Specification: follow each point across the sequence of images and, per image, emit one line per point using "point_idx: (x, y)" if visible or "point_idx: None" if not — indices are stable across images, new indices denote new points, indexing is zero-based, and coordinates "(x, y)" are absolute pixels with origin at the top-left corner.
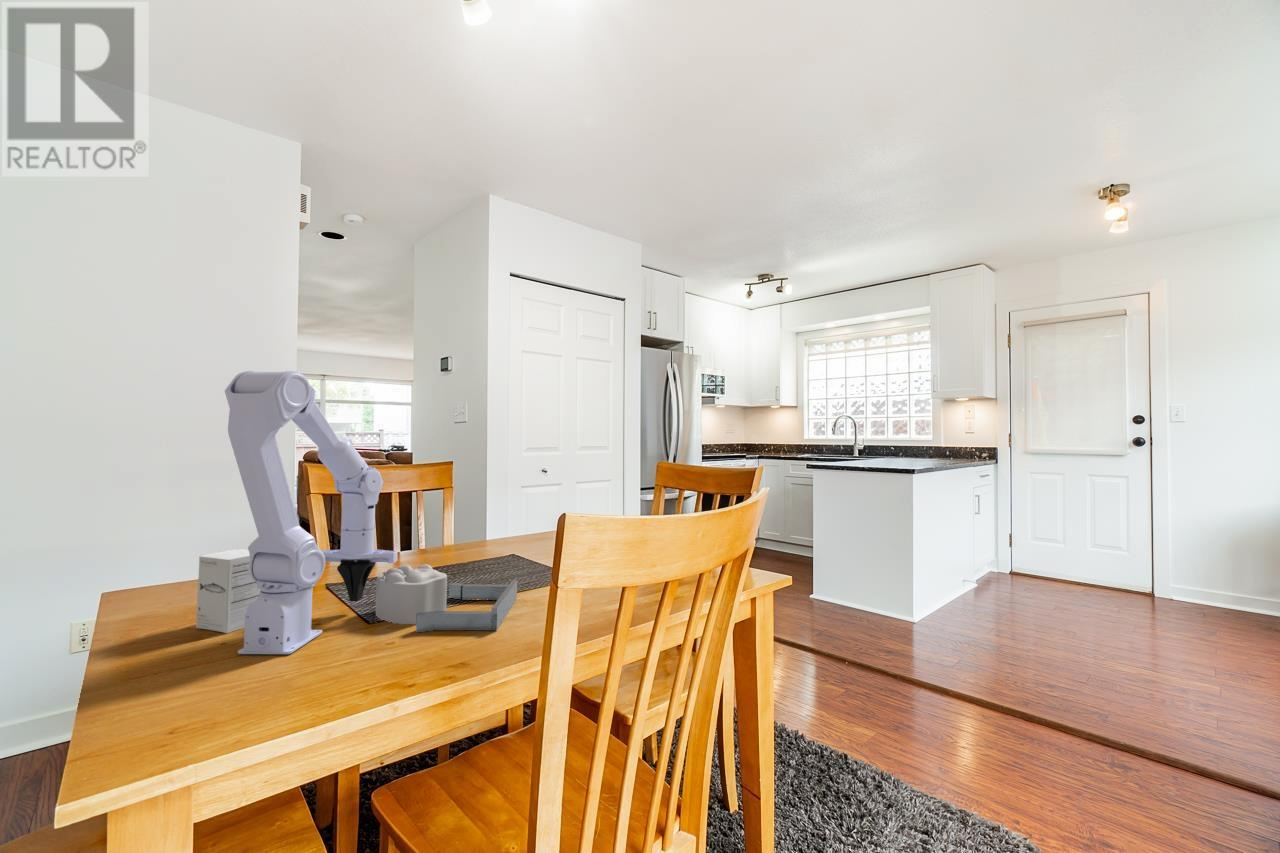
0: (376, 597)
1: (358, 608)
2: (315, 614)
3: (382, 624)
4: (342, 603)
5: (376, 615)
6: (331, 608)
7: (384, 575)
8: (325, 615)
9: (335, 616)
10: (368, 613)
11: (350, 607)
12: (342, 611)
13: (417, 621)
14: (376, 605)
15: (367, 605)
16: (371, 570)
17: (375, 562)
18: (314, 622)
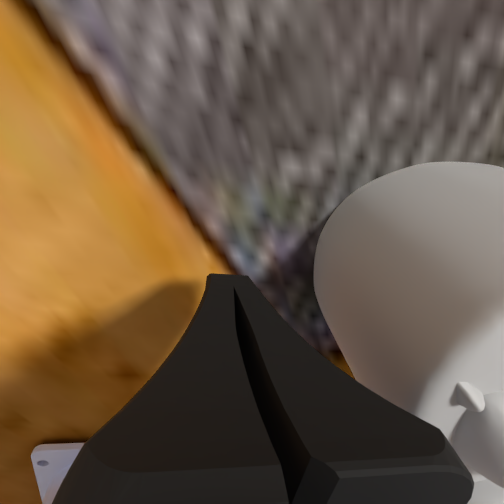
0: (350, 366)
1: (212, 198)
2: (34, 274)
3: (351, 374)
4: (61, 75)
5: (324, 317)
6: (55, 183)
7: (460, 455)
8: (96, 289)
9: (152, 303)
10: (282, 274)
11: (160, 175)
12: (149, 239)
13: None
14: (337, 341)
15: (244, 146)
16: (367, 393)
17: (464, 481)
18: (103, 360)
